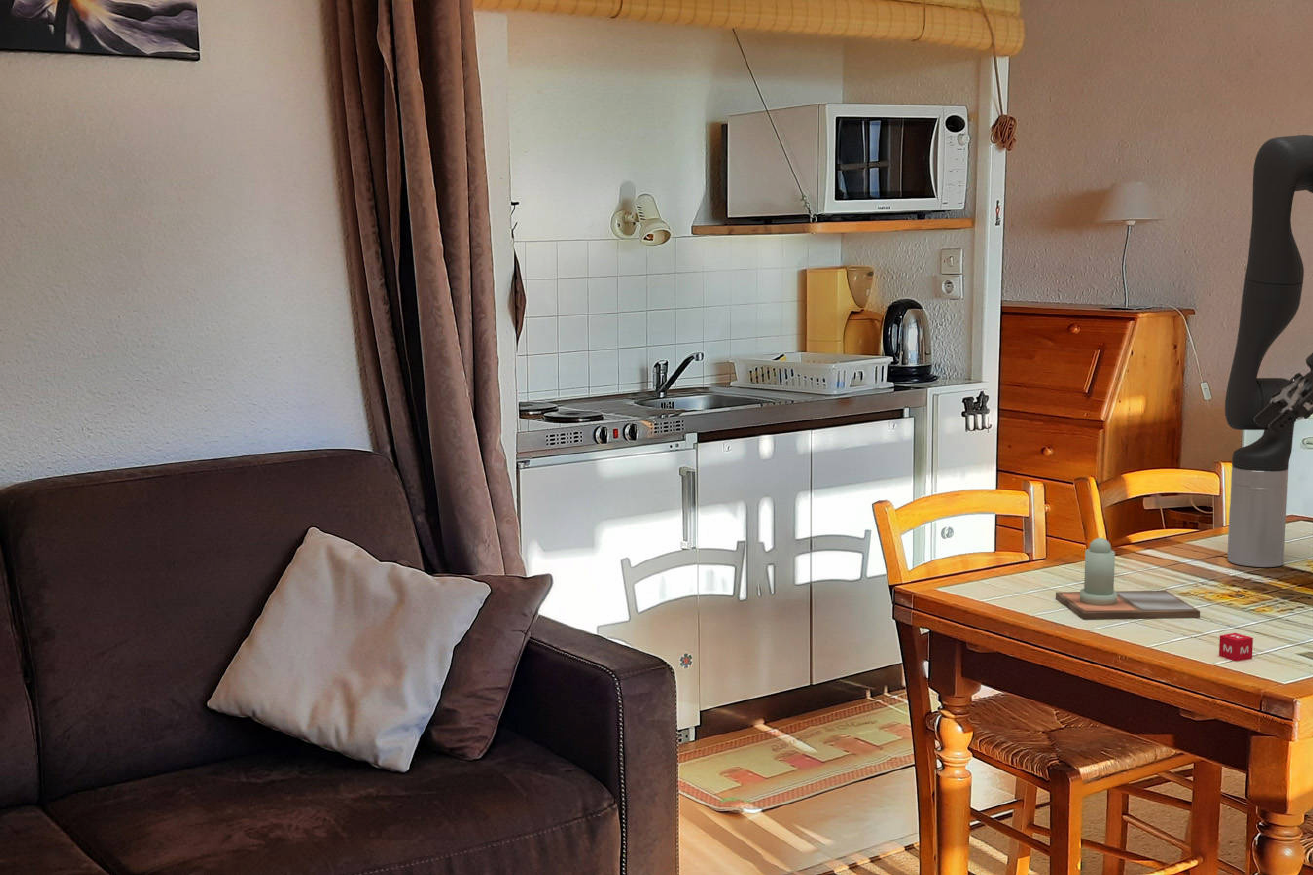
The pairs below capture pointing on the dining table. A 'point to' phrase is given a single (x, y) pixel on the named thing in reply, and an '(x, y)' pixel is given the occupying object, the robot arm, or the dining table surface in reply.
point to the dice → (1235, 647)
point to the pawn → (1099, 575)
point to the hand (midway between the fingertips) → (1264, 427)
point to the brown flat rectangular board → (1131, 606)
